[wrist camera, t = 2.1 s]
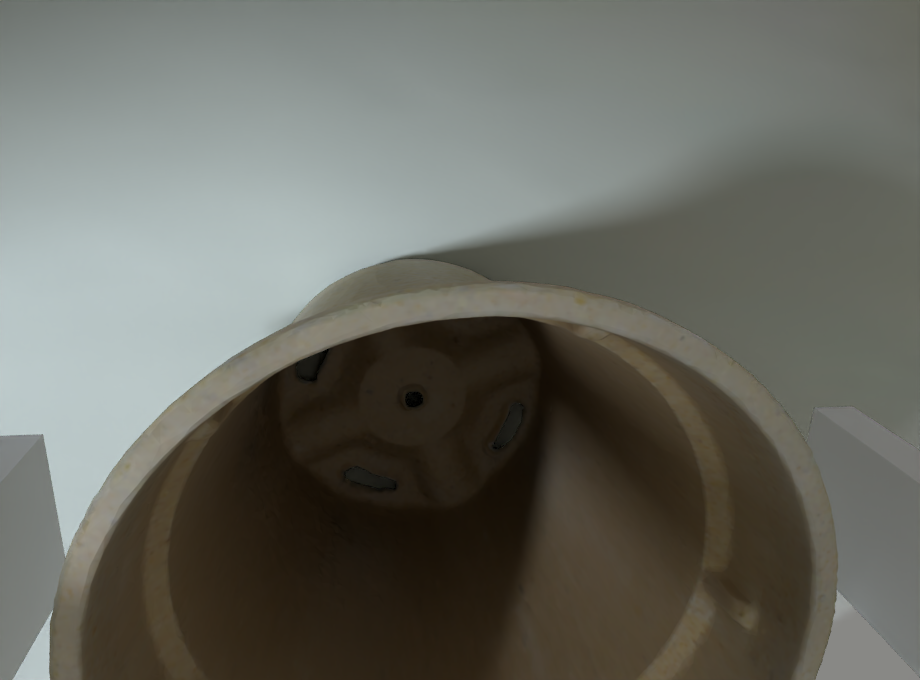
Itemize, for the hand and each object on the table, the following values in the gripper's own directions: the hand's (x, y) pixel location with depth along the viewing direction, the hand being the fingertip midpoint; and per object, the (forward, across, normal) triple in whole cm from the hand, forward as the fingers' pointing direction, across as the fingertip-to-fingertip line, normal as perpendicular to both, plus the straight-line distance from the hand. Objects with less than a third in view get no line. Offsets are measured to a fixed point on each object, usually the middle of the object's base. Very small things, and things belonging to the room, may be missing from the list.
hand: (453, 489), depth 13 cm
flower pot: (+5, 0, 0) cm, 5 cm away
